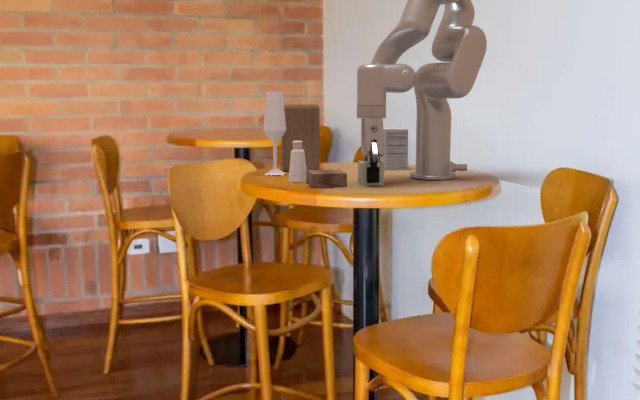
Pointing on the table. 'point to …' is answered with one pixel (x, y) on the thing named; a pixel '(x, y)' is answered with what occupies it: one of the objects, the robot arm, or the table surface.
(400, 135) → the supplement box
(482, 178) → the table surface
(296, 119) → the block
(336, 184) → the walnut block
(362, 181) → the sage block
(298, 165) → the pepper shaker
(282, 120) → the champagne flute
